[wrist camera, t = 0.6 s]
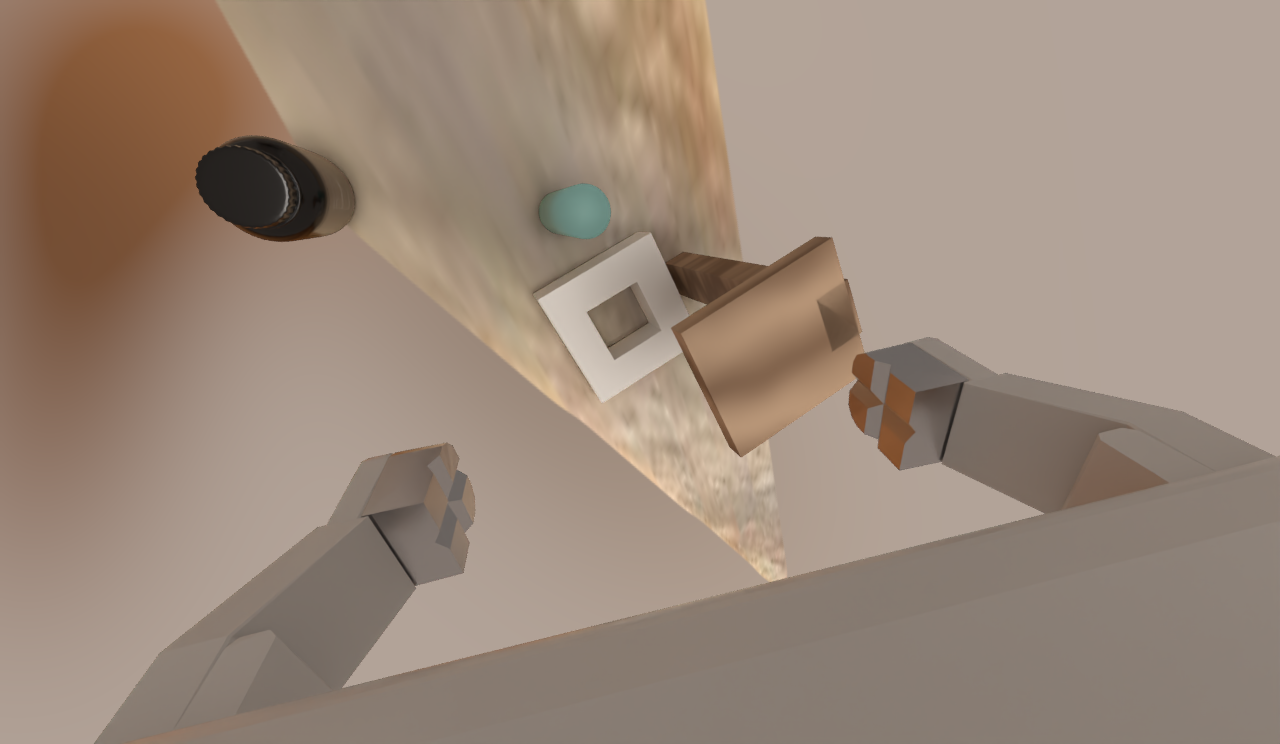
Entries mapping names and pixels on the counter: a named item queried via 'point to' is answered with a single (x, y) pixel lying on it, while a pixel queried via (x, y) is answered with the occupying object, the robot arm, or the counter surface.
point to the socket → (599, 282)
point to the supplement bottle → (275, 189)
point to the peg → (576, 211)
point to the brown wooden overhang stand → (767, 337)
